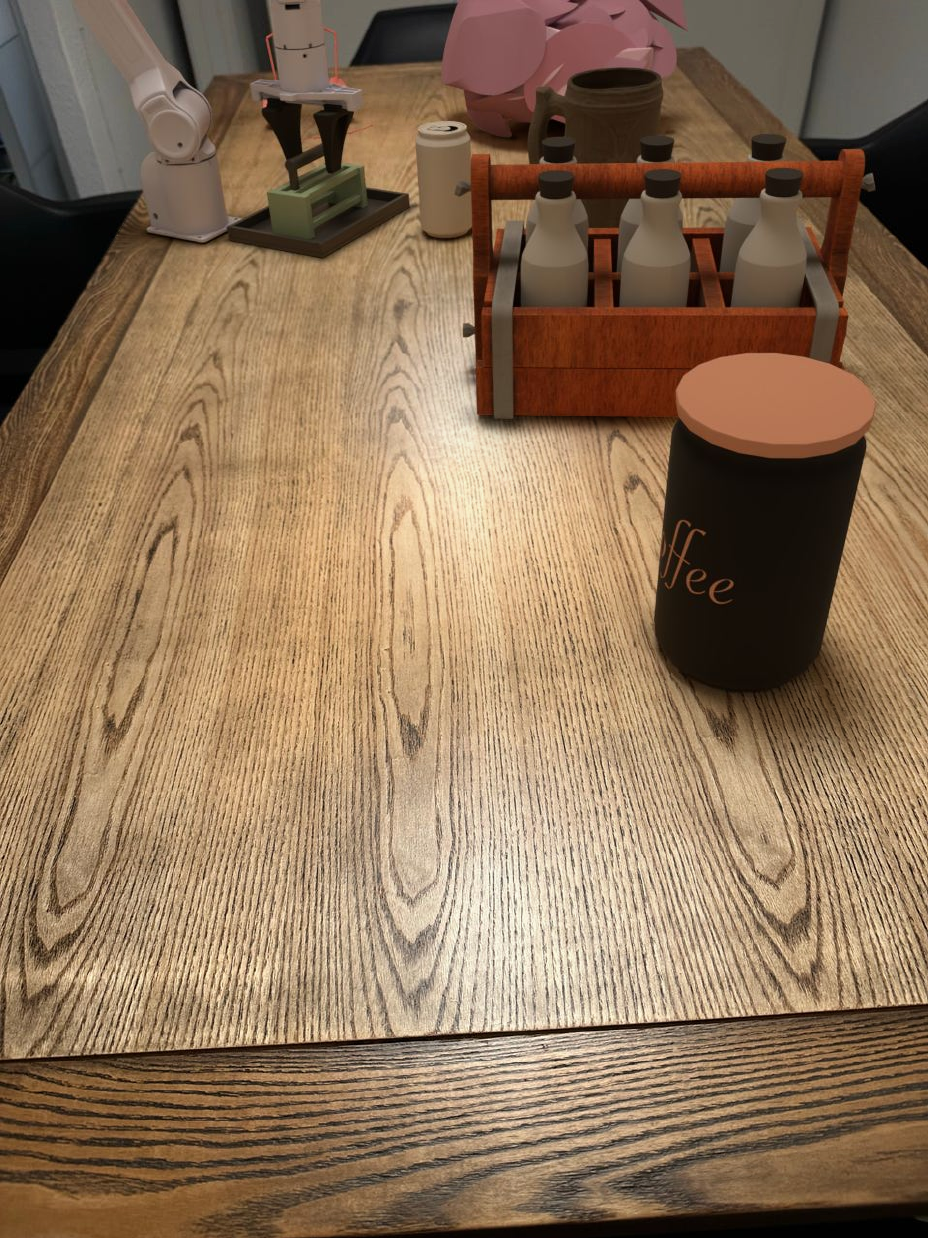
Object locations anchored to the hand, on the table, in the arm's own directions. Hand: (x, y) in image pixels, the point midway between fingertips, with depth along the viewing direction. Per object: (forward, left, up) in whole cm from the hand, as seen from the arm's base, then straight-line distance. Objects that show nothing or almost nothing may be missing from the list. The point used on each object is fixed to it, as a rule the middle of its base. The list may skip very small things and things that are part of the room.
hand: (314, 168), depth 131 cm
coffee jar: (+72, -54, -7) cm, 90 cm away
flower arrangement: (+10, +49, -7) cm, 50 cm away
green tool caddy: (0, 0, -6) cm, 6 cm away
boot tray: (0, 0, -7) cm, 7 cm away
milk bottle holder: (+52, -20, -7) cm, 56 cm away
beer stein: (+36, +1, -7) cm, 37 cm away
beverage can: (+16, +4, -7) cm, 18 cm away
